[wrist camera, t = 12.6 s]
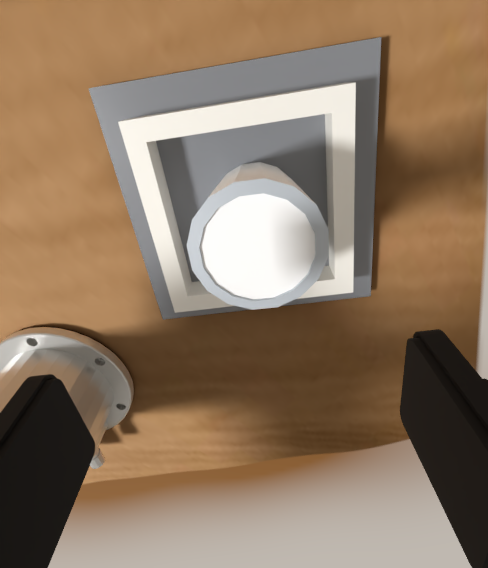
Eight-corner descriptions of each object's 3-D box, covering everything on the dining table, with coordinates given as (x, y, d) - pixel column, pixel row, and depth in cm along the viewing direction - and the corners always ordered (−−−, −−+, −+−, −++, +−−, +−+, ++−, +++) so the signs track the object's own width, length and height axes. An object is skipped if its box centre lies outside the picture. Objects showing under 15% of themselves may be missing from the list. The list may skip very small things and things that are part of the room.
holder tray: (367, 290, 27) (379, 311, 24) (165, 313, 28) (157, 335, 26) (376, 38, 19) (395, 32, 16) (94, 88, 20) (72, 88, 18)
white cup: (186, 172, 22) (161, 207, 16) (293, 134, 20) (312, 156, 14) (224, 266, 25) (216, 325, 19) (319, 237, 24) (343, 291, 18)
